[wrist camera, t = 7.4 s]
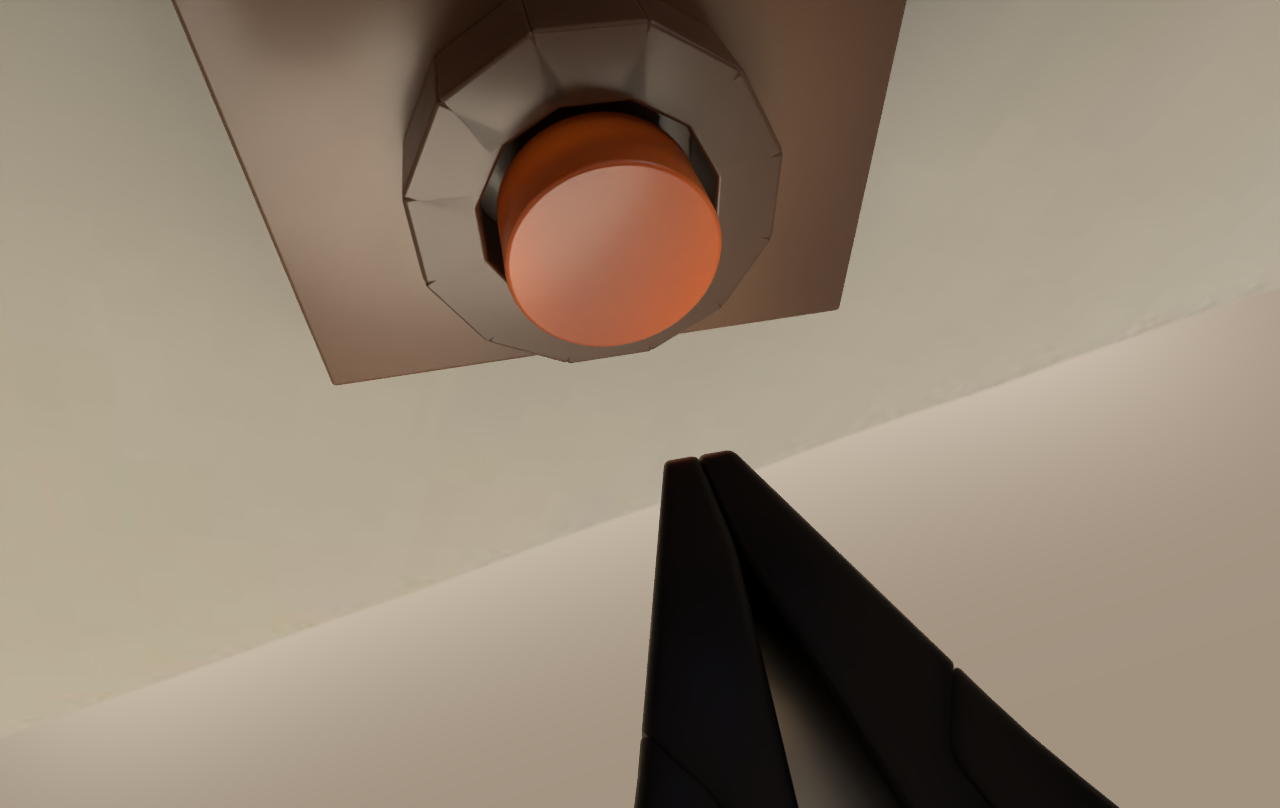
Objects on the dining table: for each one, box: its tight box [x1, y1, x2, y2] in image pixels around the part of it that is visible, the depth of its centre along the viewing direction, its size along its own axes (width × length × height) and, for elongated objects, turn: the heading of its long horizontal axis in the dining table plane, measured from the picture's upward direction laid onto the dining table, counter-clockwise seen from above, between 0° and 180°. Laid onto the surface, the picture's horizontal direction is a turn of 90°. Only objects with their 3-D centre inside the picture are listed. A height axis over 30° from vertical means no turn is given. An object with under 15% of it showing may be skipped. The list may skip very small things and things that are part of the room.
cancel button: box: [496, 111, 722, 347], centre depth 13 cm, size 4×4×2 cm
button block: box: [171, 0, 906, 385], centre depth 15 cm, size 12×9×4 cm
